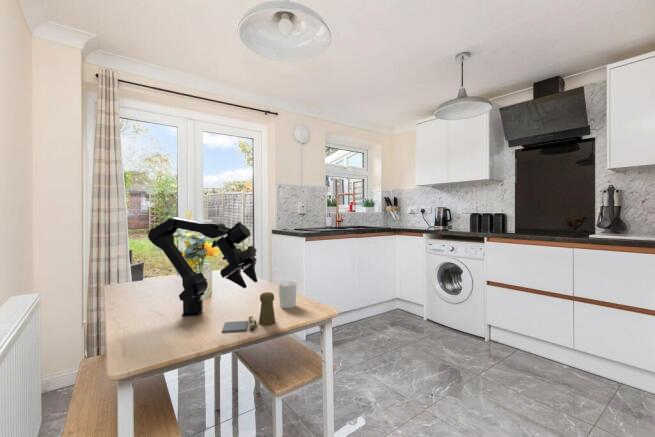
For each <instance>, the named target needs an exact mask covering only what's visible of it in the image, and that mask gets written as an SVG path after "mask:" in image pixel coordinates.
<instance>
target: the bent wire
mask: <svg viewBox="0 0 655 437" xmlns="http://www.w3.org/2000/svg"><path fill="white" fill-rule="evenodd" d="M248 323H250V325H249V331H250V332H252V331H254V330H255V328H256V326H257V320H255V319H254V317H253V316H252V315H250V316H248Z"/></svg>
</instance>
